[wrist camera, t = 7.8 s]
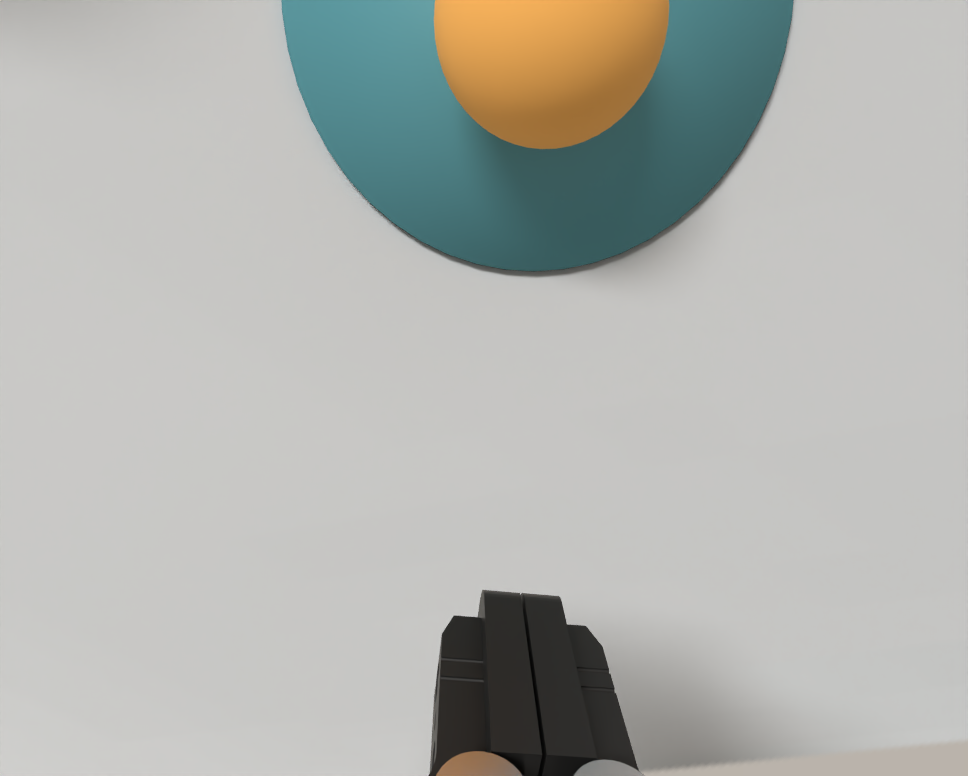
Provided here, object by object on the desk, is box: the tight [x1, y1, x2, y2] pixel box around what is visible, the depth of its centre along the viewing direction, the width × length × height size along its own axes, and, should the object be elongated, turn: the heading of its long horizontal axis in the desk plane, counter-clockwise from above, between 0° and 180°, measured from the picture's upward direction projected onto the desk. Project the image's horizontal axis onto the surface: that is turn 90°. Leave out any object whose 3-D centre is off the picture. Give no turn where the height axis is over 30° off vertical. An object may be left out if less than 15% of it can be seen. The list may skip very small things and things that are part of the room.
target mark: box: [282, 0, 793, 271], centre depth 17 cm, size 14×14×1 cm
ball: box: [434, 0, 669, 149], centre depth 15 cm, size 6×6×6 cm
